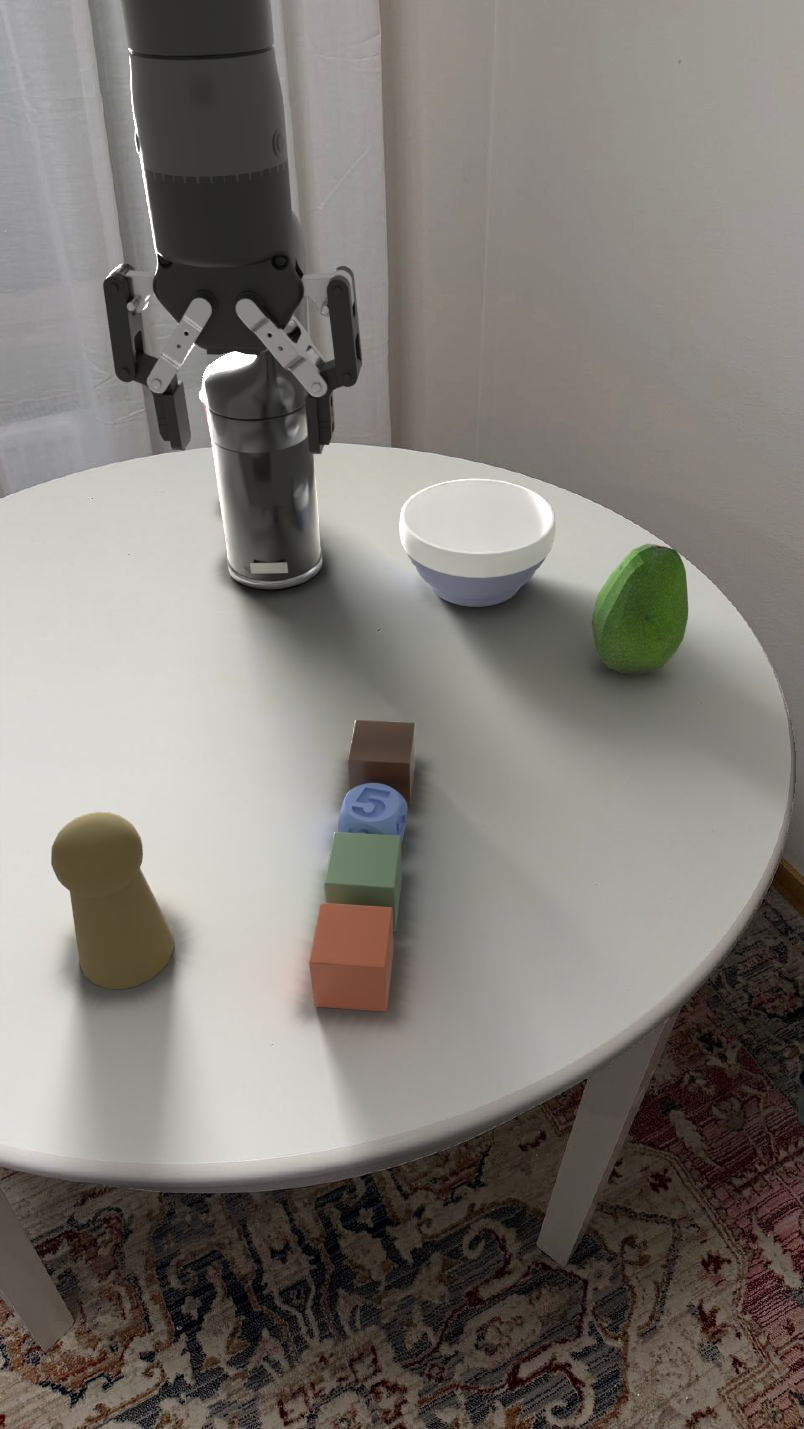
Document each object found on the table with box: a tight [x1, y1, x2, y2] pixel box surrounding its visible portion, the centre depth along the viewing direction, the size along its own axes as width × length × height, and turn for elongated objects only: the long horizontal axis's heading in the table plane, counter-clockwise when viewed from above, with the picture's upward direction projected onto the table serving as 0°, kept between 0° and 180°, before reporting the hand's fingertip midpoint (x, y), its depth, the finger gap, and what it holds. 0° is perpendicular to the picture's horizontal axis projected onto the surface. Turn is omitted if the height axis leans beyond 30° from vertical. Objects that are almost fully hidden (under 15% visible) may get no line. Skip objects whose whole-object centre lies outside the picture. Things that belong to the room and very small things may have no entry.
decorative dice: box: [337, 783, 408, 844], centre depth 71 cm, size 4×4×4 cm
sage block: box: [323, 831, 403, 933], centre depth 66 cm, size 4×4×4 cm
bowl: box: [398, 478, 557, 608], centre depth 95 cm, size 14×14×8 cm
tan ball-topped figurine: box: [50, 811, 175, 990], centre depth 62 cm, size 6×6×11 cm
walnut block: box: [347, 719, 416, 808], centre depth 75 cm, size 4×4×4 cm
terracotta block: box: [308, 902, 395, 1013], centre depth 62 cm, size 4×4×4 cm
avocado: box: [591, 543, 689, 675], centre depth 84 cm, size 8×8×12 cm
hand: (248, 447), depth 62 cm, fingers open, 8 cm apart
